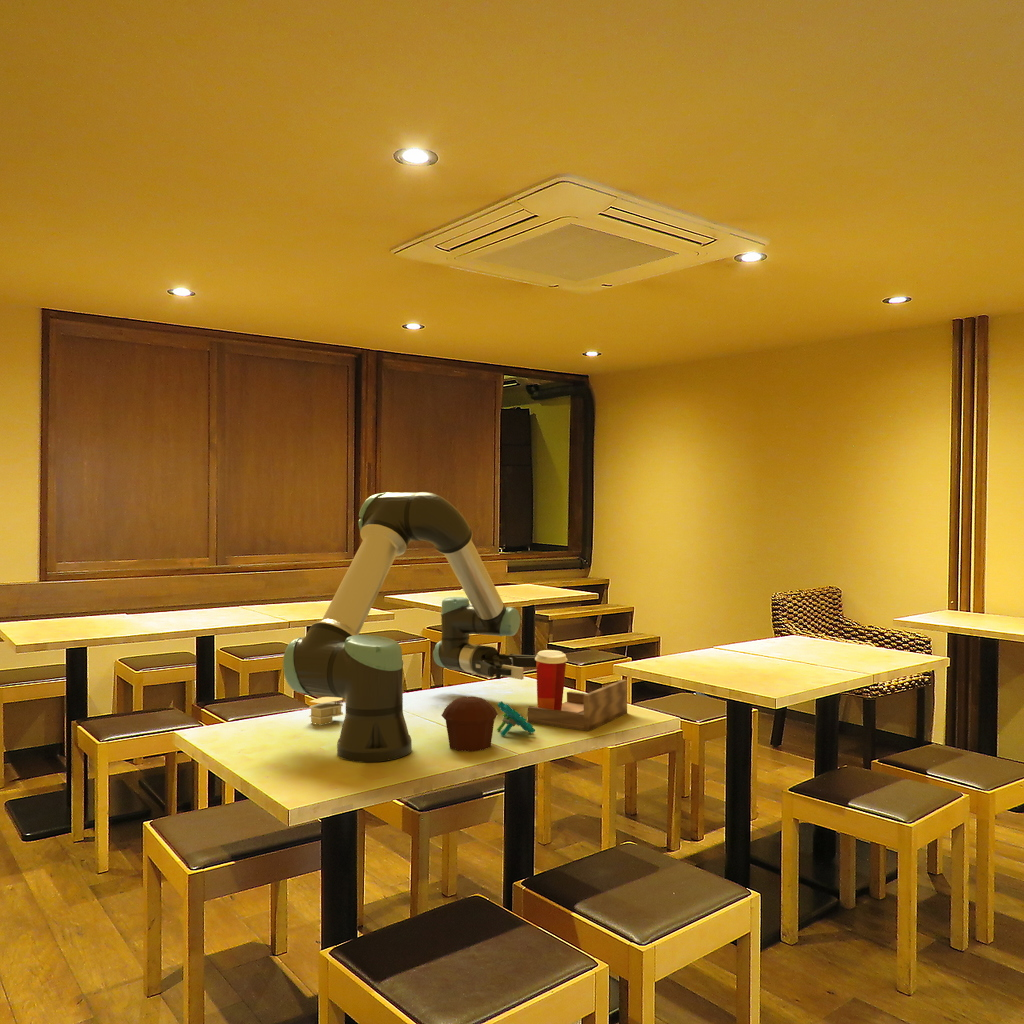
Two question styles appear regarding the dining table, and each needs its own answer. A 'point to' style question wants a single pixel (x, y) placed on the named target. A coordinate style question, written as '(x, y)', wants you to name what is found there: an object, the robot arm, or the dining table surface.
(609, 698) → the bay
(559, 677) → the paper cup
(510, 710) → the teal toy figurine
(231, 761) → the dining table surface
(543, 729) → the dining table surface
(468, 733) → the muffin
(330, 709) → the tan layered block
